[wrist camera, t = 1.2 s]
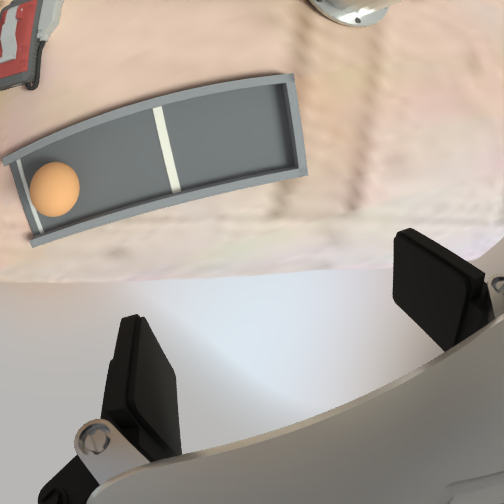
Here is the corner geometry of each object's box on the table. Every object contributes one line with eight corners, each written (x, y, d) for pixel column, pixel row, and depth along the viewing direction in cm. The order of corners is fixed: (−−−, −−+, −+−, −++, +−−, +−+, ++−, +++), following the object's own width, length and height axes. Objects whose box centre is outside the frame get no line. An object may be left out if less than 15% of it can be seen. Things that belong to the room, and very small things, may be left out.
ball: (37, 167, 28) (13, 179, 23) (78, 150, 29) (58, 159, 24) (52, 213, 31) (31, 231, 26) (92, 199, 32) (76, 215, 27)
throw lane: (9, 155, 27) (2, 158, 25) (288, 75, 31) (293, 73, 29) (38, 241, 33) (32, 247, 31) (302, 172, 36) (308, 175, 34)
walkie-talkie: (55, 86, 26) (78, -49, 17) (39, 84, 22) (68, -63, 13) (-1, 100, 24) (21, -31, 15) (-20, 101, 20) (7, -41, 11)
